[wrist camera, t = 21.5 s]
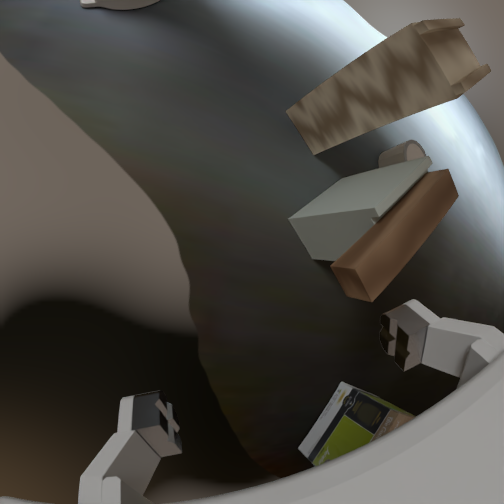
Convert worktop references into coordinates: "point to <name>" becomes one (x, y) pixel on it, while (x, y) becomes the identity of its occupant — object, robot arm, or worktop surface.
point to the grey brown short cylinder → (401, 154)
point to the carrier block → (353, 207)
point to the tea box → (350, 424)
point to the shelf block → (389, 84)
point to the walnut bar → (395, 237)
